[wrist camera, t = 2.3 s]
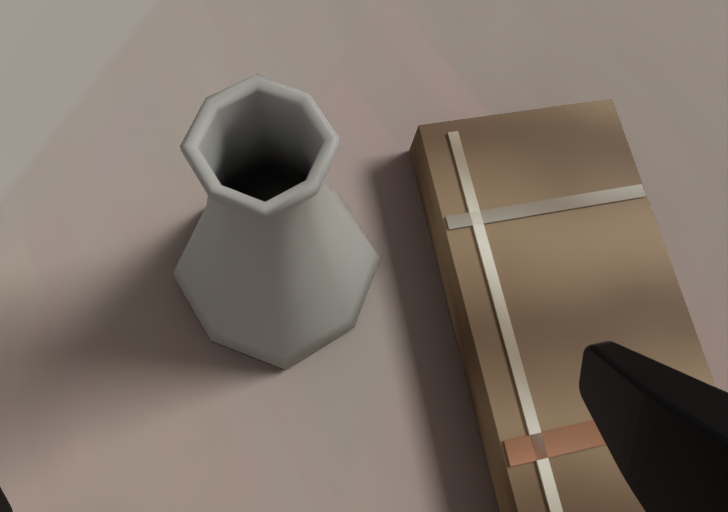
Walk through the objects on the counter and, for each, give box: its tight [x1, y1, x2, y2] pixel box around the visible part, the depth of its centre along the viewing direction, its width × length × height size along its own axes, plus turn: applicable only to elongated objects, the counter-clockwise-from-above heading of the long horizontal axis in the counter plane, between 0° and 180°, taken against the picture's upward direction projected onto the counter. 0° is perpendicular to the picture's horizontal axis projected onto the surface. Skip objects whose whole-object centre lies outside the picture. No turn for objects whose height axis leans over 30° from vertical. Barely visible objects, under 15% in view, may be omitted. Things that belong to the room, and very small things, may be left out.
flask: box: [172, 74, 380, 370], centre depth 17 cm, size 7×7×10 cm
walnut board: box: [410, 99, 715, 512], centre depth 21 cm, size 18×8×2 cm, turn 12°
